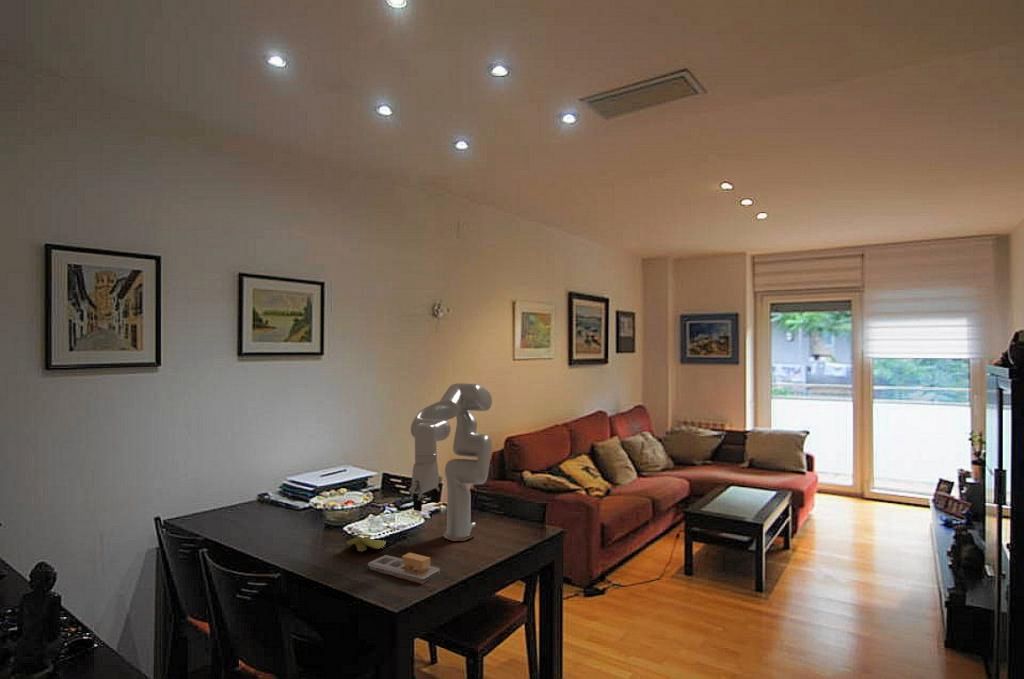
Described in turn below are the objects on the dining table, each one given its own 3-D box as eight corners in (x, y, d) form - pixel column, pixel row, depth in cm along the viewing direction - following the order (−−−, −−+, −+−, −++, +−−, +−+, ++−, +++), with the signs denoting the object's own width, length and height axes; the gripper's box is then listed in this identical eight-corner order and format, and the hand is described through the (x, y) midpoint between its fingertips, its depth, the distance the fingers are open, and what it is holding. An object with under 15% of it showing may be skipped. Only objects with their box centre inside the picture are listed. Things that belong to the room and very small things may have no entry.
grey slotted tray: (385, 561, 217) (385, 554, 217) (439, 575, 205) (439, 568, 205) (368, 569, 209) (368, 562, 209) (422, 584, 197) (422, 577, 197)
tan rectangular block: (409, 571, 208) (409, 552, 208) (430, 576, 204) (430, 557, 204) (401, 575, 205) (402, 556, 205) (422, 580, 200) (422, 561, 200)
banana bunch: (372, 532, 243) (391, 523, 240) (377, 550, 241) (397, 542, 238) (340, 543, 224) (361, 534, 221) (346, 563, 223) (367, 554, 220)
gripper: (432, 452, 221) (433, 498, 222) (401, 462, 206) (402, 511, 207) (449, 454, 217) (449, 501, 218) (418, 465, 202) (419, 515, 203)
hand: (426, 506), depth 212 cm, fingers open, 9 cm apart
